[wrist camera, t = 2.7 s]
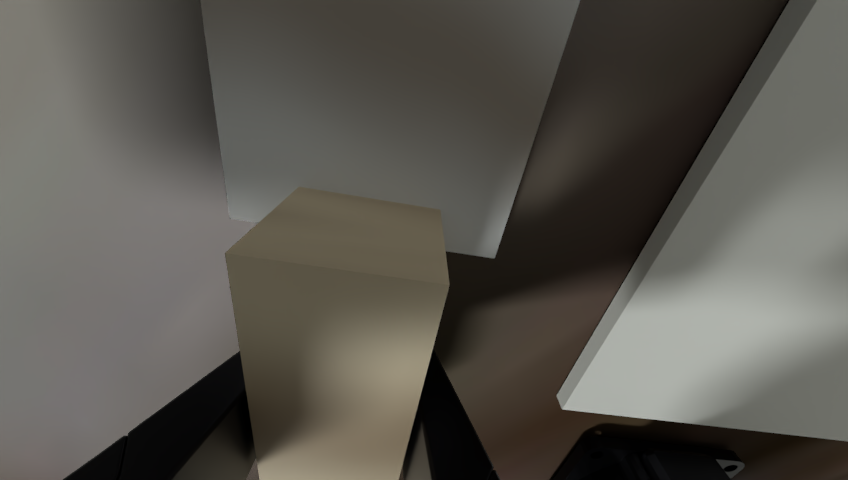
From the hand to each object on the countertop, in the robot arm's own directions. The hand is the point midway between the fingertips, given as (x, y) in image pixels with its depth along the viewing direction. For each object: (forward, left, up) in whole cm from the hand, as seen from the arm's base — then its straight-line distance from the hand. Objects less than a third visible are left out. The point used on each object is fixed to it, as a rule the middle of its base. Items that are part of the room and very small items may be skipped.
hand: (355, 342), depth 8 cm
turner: (+3, 0, -1) cm, 3 cm away
